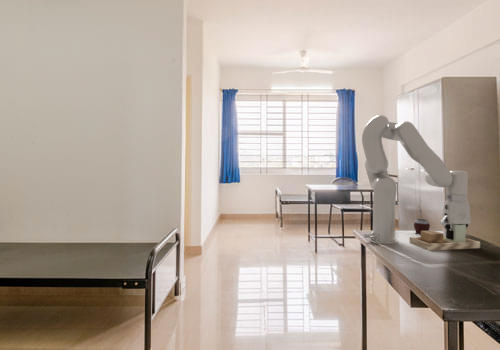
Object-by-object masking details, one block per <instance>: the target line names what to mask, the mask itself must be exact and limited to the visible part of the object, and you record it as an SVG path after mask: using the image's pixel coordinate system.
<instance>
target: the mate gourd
mask: <svg viewBox="0 0 500 350" xmlns="http://www.w3.org/2000/svg"><path fill="white" fill-rule="evenodd" d="M417 207H418V209H419V214H420V218H417V219H415V220H414V221H413V227H414V231H415V233H414V234H415V235H421V231H430V228H431V227H430V226H431V225H430V222H429V220H427V219H425V218H424V219H423V216H422V209H421V207H420V205H419V204H418V205H417Z"/></svg>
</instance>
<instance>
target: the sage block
mask: <svg viewBox="0 0 500 350" xmlns="http://www.w3.org/2000/svg"><path fill="white" fill-rule="evenodd" d="M449 226H450V224H449ZM466 230H467V228H466V225H464V224H457V225H453V230H452V231H454V234H453V240H451V239H448V238H446V240H447V241H451V242H454V243H458V242H465V239H466V238H467V237H466V234H467V233H466Z"/></svg>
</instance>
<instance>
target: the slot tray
mask: <svg viewBox="0 0 500 350" xmlns="http://www.w3.org/2000/svg"><path fill="white" fill-rule="evenodd" d="M409 244H412V245H414V246H417V247H420V248H422V249H424V250H427V251H442V250H464V249H465V250H467V249H480V248H481V241H478V240H474V239H470V238H467V237H466V239H465V242H458V243H454V242H451V241H447V240H446V235H444V240H443V243H434V244H429V243H426V242H423V241H421V236H410V237H409Z"/></svg>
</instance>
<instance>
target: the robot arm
mask: <svg viewBox="0 0 500 350" xmlns="http://www.w3.org/2000/svg"><path fill="white" fill-rule="evenodd" d="M382 139H386V140H390V141H391V140H392V141H397V142H399V143H400V144H401V146H402V147H403V148H404V150H405V151H406V153H407V155H408V156H409V157H410V158H411V159H412V160H413V161H415V162H417V163H418V164H419V165H420V166H421V167H422V168H423V169H424V170H425V171H426V172H427V173H426V174H425V177H424V179H425V182H426V184H428V185H429V186H432V187H437V188H445V189H446V193H445V196H444V199H445V201H444V205H443V211H442V219H441V220H440V222H439V223H440V225H442V226H443V228H444V227H445V228H444V230H445V236H446V238H448V239H451V240H453V234H454V231H452V230H453V225H457V224H464V225H466V229H467V228H468V227H469V226H470V225H471V223H472V221H471V208H470V207H471V206H470V203H469V201H468V181H469V180H468V179H469V178H468V176H469V175H468V174H469V173H468V172H467V171H465V170H450V169H449V167H448V166H447V165H446V164H445V162H444V160H442V159H441V158H440V156H438V155H437V154H436V153H435V151H434V150H433V149H432V148H431V147H430V146H429V145H428V143H427V142H426V141H425V139H424V138H423V137H422V135H421V134H420V132H419V131H418V128H416V127H415V125H414V124H413V123H412V122H411V121H402V122H393V121H389V118H388V117H386V115H383V114H378V115H376V116H373V117H372V118H371V119H369V121H368V122H367V123H366V124H365V126H364V128H363V131H362V134H361V143H362V147H363V153H364V155H365V162H364V166H365V170H366V174H367V177H368V181H369V184H370V187H371V190H372V191H373V198H372V203H373V204H372V231H370V232H369V233H363V234H362V237H363V238H364V239H367V238H368V240H369V242H371V243H373V244H376V245H377V244H378V245H383V246H384V244H387V245H388V244H390V245H391V244H398V243H399V240H398V239H397V238H395V237H396V236H395V235H396V232H395V231H396V200H397V193H398V192H397V191H398V187H397V182H396V181H395V179H394V178H392V177H391V176H390V175H389V172H388V168H389V161H388V158H387V156H386V153H385V148H384V145H383V140H382ZM449 224H450V226H449Z"/></svg>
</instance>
